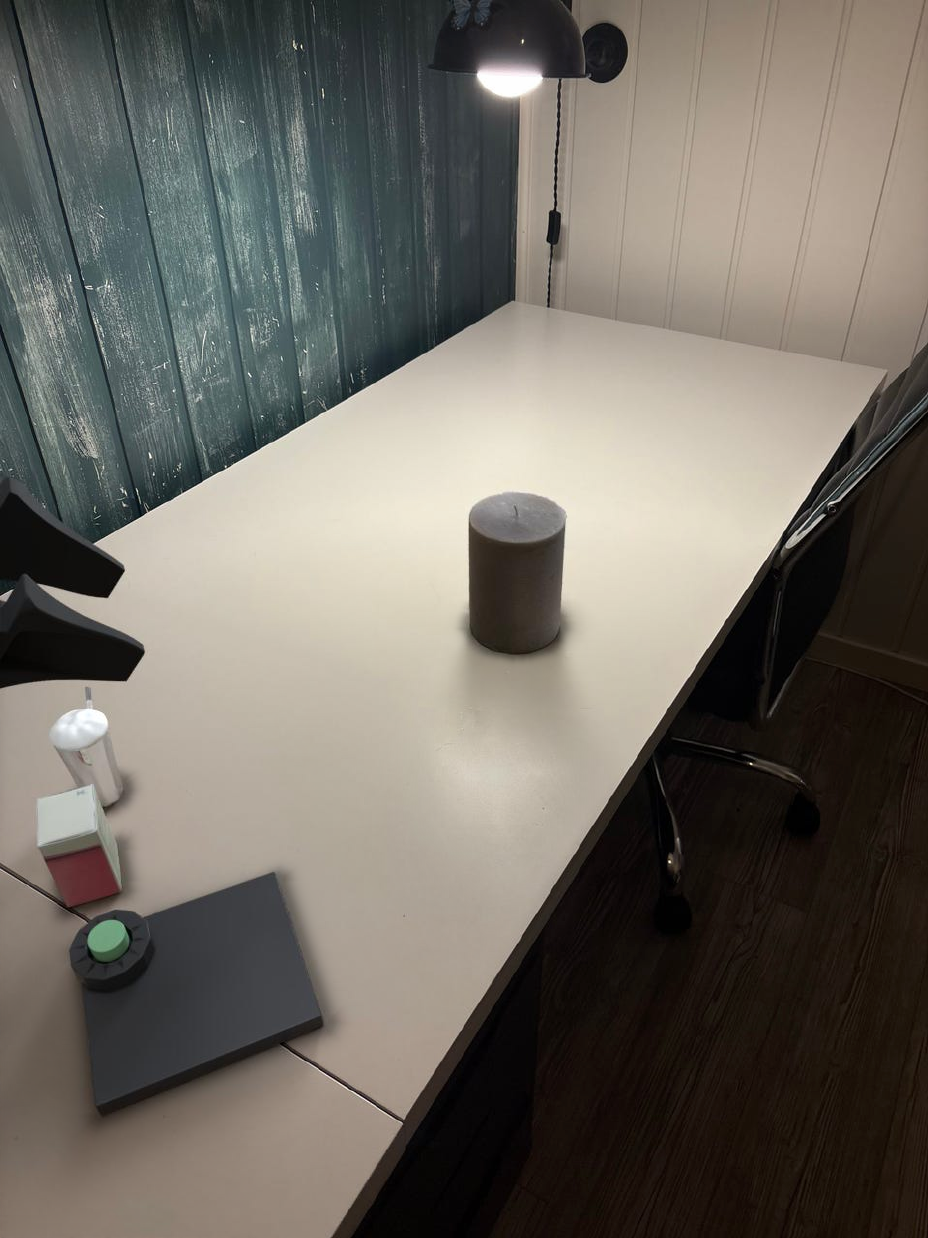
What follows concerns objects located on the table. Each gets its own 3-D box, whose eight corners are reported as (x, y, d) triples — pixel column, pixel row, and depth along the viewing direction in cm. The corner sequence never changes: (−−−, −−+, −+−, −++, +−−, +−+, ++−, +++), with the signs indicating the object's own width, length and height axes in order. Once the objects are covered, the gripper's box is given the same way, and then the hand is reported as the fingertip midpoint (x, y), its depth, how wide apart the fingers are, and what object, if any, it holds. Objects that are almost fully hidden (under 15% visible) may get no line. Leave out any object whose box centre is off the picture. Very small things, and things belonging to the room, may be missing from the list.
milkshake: (142, 769, 83) (114, 688, 77) (119, 816, 79) (87, 734, 72) (94, 766, 83) (62, 685, 77) (68, 812, 79) (32, 730, 73)
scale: (96, 1118, 59) (84, 1097, 57) (78, 948, 69) (66, 926, 67) (323, 1026, 64) (319, 1003, 62) (276, 879, 73) (271, 855, 72)
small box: (64, 860, 75) (34, 797, 70) (118, 845, 76) (93, 781, 71) (66, 910, 71) (35, 847, 67) (123, 893, 73) (97, 830, 68)
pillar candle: (484, 661, 94) (483, 539, 84) (459, 605, 101) (456, 487, 92) (573, 644, 96) (583, 522, 86) (542, 590, 103) (548, 472, 93)
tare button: (94, 968, 65) (89, 957, 64) (90, 938, 67) (85, 927, 66) (132, 954, 66) (127, 944, 65) (127, 925, 67) (122, 914, 67)
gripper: (-144, 533, 34) (186, 643, 42) (-119, 383, 44) (142, 496, 53) (-217, 676, 36) (113, 753, 44) (-177, 499, 46) (84, 590, 55)
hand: (124, 620), depth 49 cm, fingers open, 7 cm apart
